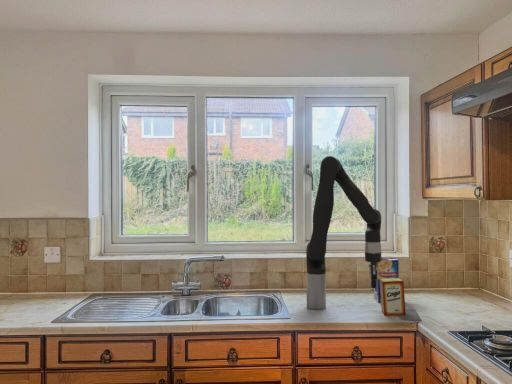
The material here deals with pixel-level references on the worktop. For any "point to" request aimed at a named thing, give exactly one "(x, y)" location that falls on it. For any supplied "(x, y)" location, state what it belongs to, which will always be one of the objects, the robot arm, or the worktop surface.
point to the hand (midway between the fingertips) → (373, 287)
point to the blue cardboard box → (385, 274)
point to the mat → (410, 315)
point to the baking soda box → (392, 296)
